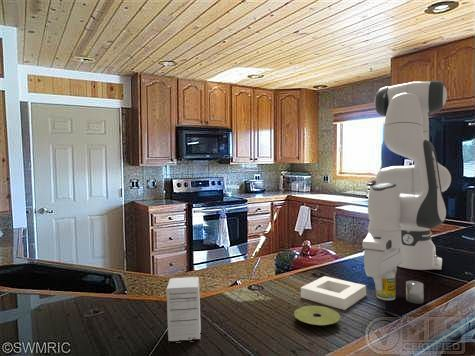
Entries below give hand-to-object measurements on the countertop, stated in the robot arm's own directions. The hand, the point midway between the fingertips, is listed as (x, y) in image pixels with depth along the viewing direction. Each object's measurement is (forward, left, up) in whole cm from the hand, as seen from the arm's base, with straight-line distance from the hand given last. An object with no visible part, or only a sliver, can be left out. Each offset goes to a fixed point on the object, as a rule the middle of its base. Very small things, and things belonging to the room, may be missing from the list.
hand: (385, 285), depth 97 cm
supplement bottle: (0, 0, -4) cm, 4 cm away
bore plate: (+9, -12, -4) cm, 16 cm away
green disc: (+27, -7, -4) cm, 28 cm away
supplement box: (+53, -27, -4) cm, 60 cm away
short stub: (-3, +7, -4) cm, 8 cm away
